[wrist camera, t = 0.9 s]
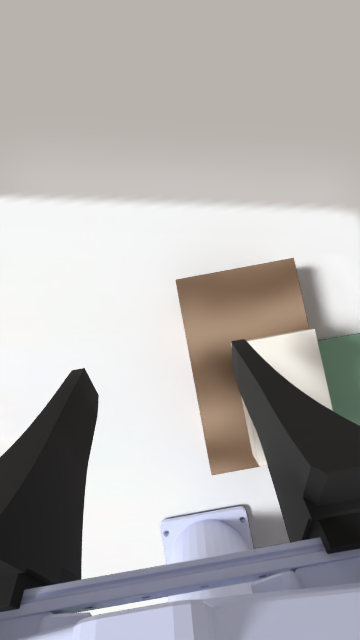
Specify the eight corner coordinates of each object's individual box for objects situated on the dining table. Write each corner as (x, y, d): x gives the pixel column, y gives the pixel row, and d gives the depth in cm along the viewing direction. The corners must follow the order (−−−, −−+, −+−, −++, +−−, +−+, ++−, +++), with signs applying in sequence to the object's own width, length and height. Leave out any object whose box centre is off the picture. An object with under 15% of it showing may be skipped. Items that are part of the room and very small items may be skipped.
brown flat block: (312, 434, 25) (336, 452, 21) (207, 453, 25) (211, 475, 21) (277, 270, 26) (293, 258, 22) (177, 288, 26) (175, 279, 22)
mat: (402, 446, 25) (405, 447, 25) (320, 461, 25) (321, 462, 25) (375, 330, 26) (377, 330, 25) (295, 345, 26) (296, 345, 25)
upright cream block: (327, 441, 21) (341, 451, 19) (252, 454, 21) (259, 466, 19) (302, 329, 22) (314, 328, 20) (230, 343, 22) (235, 343, 20)
